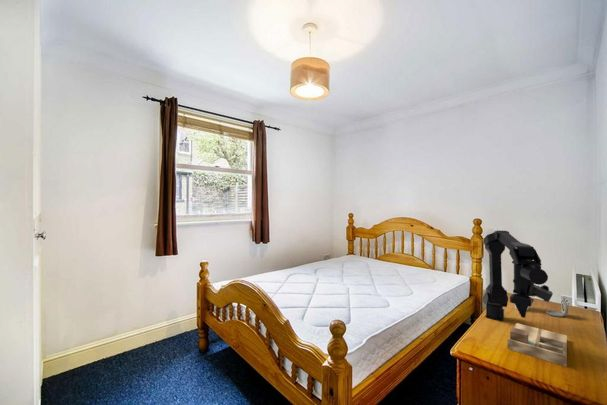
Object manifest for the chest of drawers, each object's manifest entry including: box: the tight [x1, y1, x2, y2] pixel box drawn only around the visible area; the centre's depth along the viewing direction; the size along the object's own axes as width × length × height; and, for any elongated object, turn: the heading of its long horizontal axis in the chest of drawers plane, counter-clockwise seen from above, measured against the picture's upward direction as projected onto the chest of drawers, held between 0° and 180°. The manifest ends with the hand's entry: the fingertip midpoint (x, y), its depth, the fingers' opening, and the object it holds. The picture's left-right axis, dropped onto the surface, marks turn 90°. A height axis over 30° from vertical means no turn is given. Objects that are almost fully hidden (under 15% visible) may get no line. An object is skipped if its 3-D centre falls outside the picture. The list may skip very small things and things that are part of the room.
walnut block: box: [509, 326, 528, 344], centre depth 103 cm, size 5×5×4 cm
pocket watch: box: [545, 295, 569, 318], centre depth 133 cm, size 8×8×10 cm
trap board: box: [507, 322, 568, 368], centre depth 104 cm, size 16×25×4 cm, turn 135°
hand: (523, 317), depth 105 cm, fingers closed
